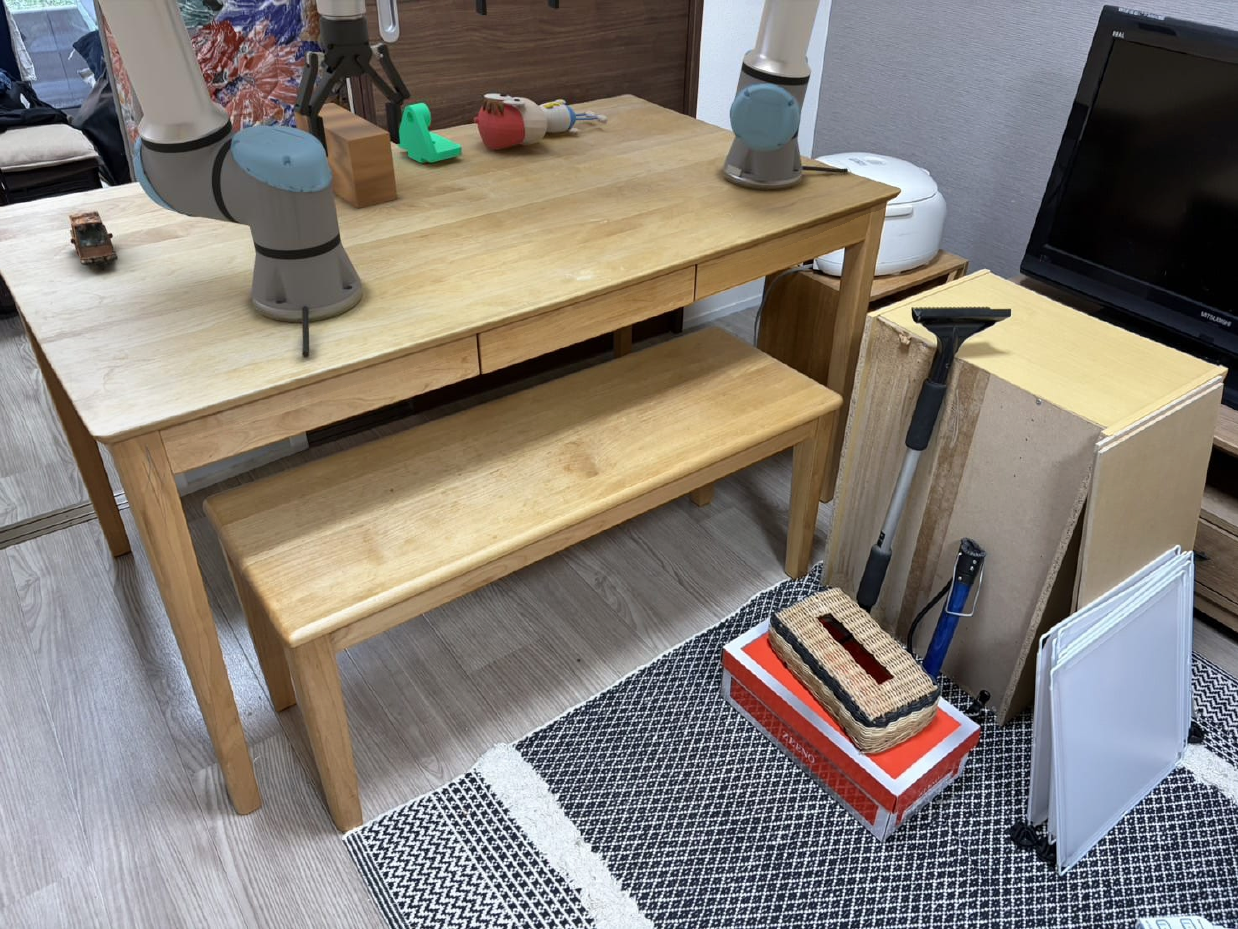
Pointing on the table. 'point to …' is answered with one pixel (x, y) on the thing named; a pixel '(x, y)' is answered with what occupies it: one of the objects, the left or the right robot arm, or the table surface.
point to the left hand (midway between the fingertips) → (359, 148)
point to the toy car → (91, 239)
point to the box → (356, 156)
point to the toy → (524, 120)
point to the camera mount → (423, 137)
